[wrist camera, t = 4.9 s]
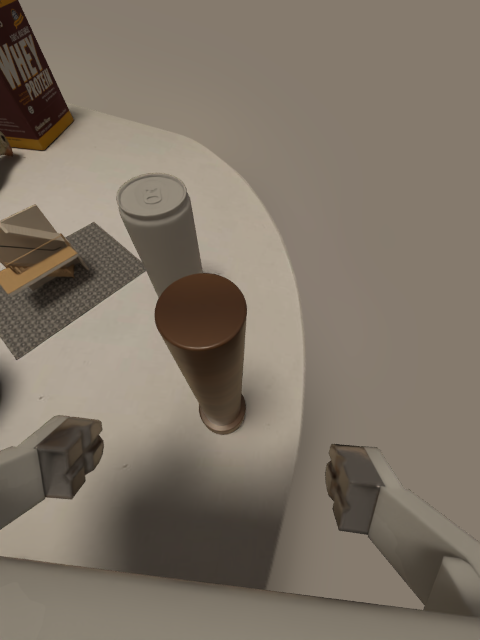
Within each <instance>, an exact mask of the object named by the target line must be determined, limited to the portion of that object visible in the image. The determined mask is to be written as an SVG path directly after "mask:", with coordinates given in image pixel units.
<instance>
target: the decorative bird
mask: <svg viewBox="0 0 480 640" xmlns="http://www.w3.org/2000/svg"><path fill="white" fill-rule="evenodd" d="M0 155H7V156H13V152H12V148H11V146H10V144H9V142H8V140H7V139H6V137H5V136H4V134H3V133H2V132H1V131H0Z"/></svg>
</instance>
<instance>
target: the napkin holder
mask: <svg viewBox="0 0 480 640" xmlns="http://www.w3.org/2000/svg"><path fill="white" fill-rule="evenodd" d="M0 262H1V263H2V264H3V265H4V266H5V267H6V269H4V270H2V271H0V286H1V287H2V289H3V290H4V291H5V292H6V294H7V295H8V296H10V297H13V296H15V295H16V294H18V293H20V292H21V291H23V290H25V289H26V288H29V289H30V290H31V291H32V292H33V291H34V290H36V289H38V288H39V287H40V286H42V285H43V284H45V283H47V282H48V281H50V280H52V279H54V278H74V277H75V276H74V271H75V265H77V264H79V263H80V264H81V265H82V266H83V267H84V268H85V269H86V270H89V269H90V268H89V267H88V265H87V264H86V263H85V261H84V260H83V258H82V257H81V256H80V254H79V253H78V252H77V250H76V249H75V247H74V246H73V245H72V243H71V242H70V241H69V240H68V239H67V238H65V237H64V236H63V235H62V234H59V233H57V232H56V231H55V229H54V228H53V227H52V225H51V224H50V223H49V221H48V220H47V219H46V217H45V216H44V215H43V213H42V212H41V211H40V209H39V208H38V207H37V205H36V204H34V205H32V206H30V207H28V208H26V209H24V210H22V211H20V212H18V213H15V214H13V215H11V216H9V217H7V218H5V219H3V220H1V221H0Z"/></svg>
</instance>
